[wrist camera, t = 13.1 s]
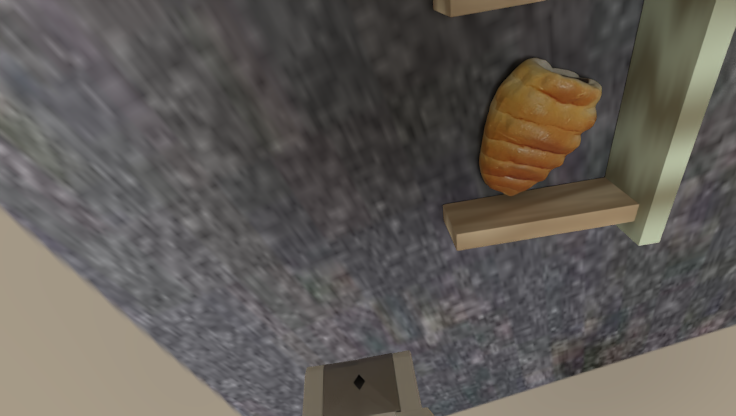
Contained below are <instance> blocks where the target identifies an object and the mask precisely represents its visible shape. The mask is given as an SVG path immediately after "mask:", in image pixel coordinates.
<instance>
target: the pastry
mask: <svg viewBox="0 0 736 416" xmlns="http://www.w3.org/2000/svg"><path fill="white" fill-rule="evenodd" d="M601 91H602V87H601V85H600V84H599V83H598V82H596V81H595V80H592V79H588V78H579V76H578V74H576V73H574V72H572V71H569V70H563V69H558V68H552V67H551V65H550V64H549V63H548V62H547V61H545V60H542V59H538V58H531V59H527V60H525V61H524V62H523V63H521V64H520V65H519V66H518V67H517V68H516V69H515V70H514V71H513V72H512V73H511V74H510V75H509V76H508V77H507V78H506V79H505V80H504V81H503V82H502V84H501V85H500V86H499V88H498V90H497V92H496V94H495V96H494V98H493V100H492V102H491V105H490V109H489V113H488V115H487V120H486V124H485V128H484V134H483V139H482V145H481V151H480V157H479V166H480V171H481V175H482V177H483V180H484V182H485V183H486V184H487V185H488V186H489V187H490V188H492V189H494V190H497V191H500V192H502V193H504V194H505V195H507V196H514V195H516V194H518V193H520V192H523V191H526V190H527V189H529V188H530V187H532V186H533V185H534V184H536V183H537V182H539V181H543V180H545V179H546V177H547V176H548V174H549V172H550V171H551V170H552V169H554V168H556V167H559V166H561V165H562V164H563V162H564V159H565V156H566V155H567V154H569V153H571V152H572V151H574V150H575V149H576V148H577V147H578V146H579V145H580V142H581V137H580V135H581V133H582V132H584V131H586V130H588V129H590V128H591V127H592V126H593V125H594V123H595V121H596V117H597V115H596V109H595V106H596V104H597V103H598V101H599V100H600V97H601V94H602V92H601Z"/></svg>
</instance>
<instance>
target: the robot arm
mask: <svg viewBox="0 0 736 416" xmlns="http://www.w3.org/2000/svg"><path fill="white" fill-rule="evenodd" d="M392 355H393V356H392ZM303 416H434V414H433V413H432V412H431V411H430V410H429V409H428V408H427V407H426V408H422V406H421V401H420V396H419V392H418V387H417V382H416V377H415V372H414V367H413V362H412V357H411V353H410V351H409V350H408V351H403V352H397V353H393V354H392V353H389V354H383V355H378V356H372V357H367V358H362V359H358V360H352V361H346V362H339V363H333V364H327V365H319V366H313V367H307V369H306V373H305V385H304V401H303Z"/></svg>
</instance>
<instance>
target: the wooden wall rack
mask: <svg viewBox="0 0 736 416" xmlns="http://www.w3.org/2000/svg"><path fill="white" fill-rule="evenodd" d="M540 1H545V0H433V10H435V11H437V12H440V13H442V14H444V15H447V16H449V17H455V16H461V15H466V14H472V13H478V12H483V11H489V10H495V9H500V8H506V7H512V6H517V5H523V4H528V3H534V2H540ZM735 27H736V0H644V5H643V9H642V14H641V18H640V23H639V27H638V31H637V36H636V40H635V45H634V49H633V54H632V58H631V63H630V67H629V72H628V76H627V81H626V85H625V89H624V94H623V98H622V103H621V107H620V112H619V116H618V121H617V125H616V130H615V134H614V139H613V143H612V148H611V152H610V156H609V161H608V165H607V170H606V174H605V177H604V178H598V179H592V180H586V181H580V182H574V183H569V184H563V185H557V186H551V187H545V188H539V189H533V190H527V191H523V192H520V193H518V194H516V195H514V196H507V195H505V194H503V195H497V196H492V197H486V198H480V199H474V200H468V201H462V202H456V203H450V204H444V205H443V218H444V222H445V224H446V227H447V229H448V231H449V233H450V236H451V238H452V240H453V243H454V245H455V247H456V250H457V251H459V250H465V249H471V248H477V247H483V246H489V245H495V244H501V243H507V242H513V241H519V240H525V239H531V238H537V237H543V236H549V235H555V234H561V233H567V232H573V231H579V230H585V229H591V228H597V227H603V226H609V225H616V226H617V227H619V228H620V229H621V230H622V231H623V232H624V233H625V234H626V235H627V236H628V237H630V238H631V239H632V240H633V241H634V242H635V243H636V244H637V245H638V246H640V245H646V244H652V243H658V242H660V239H661V236H662V233H663V230H664V228H665V225H666V222H667V219H668V216H669V213H670V211H671V208H672V205H673V202H674V199H675V196H676V194H677V191H678V188H679V185H680V182H681V179H682V177H683V174H684V171H685V168H686V165H687V162H688V160H689V157H690V154H691V151H692V148H693V146H694V143H695V140H696V137H697V134H698V131H699V129H700V126H701V123H702V120H703V117H704V114H705V112H706V109H707V106H708V103H709V100H710V97H711V95H712V92H713V89H714V86H715V83H716V80H717V78H718V75H719V72H720V69H721V66H722V64H723V61H724V58H725V55H726V52H727V49H728V47H729V44H730V41H731V38H732V35H733V32H734V30H735Z"/></svg>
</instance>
